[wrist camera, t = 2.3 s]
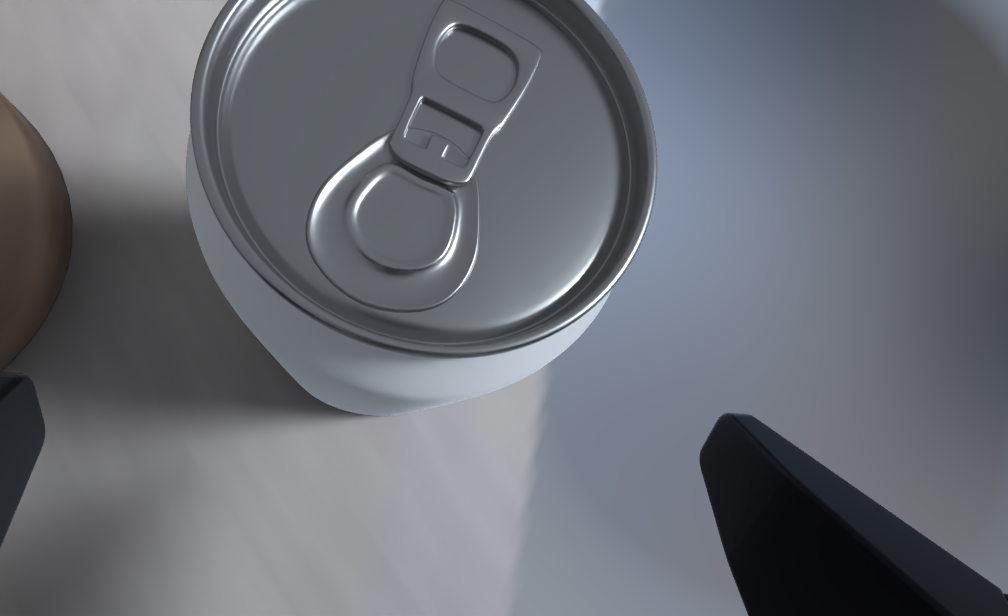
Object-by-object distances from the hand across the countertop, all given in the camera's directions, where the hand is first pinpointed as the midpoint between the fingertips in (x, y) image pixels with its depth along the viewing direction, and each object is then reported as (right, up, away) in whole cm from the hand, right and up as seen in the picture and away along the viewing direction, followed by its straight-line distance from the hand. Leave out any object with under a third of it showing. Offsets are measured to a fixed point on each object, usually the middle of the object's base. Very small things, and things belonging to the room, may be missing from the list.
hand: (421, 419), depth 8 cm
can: (-3, +1, +11) cm, 11 cm away
